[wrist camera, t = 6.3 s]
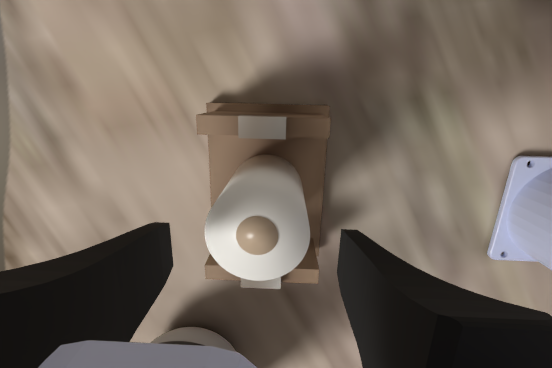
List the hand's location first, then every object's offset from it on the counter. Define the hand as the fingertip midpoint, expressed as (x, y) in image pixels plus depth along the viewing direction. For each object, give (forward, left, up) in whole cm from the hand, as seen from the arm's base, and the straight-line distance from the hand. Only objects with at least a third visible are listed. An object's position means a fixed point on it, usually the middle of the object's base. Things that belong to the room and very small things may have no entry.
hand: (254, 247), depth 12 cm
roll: (0, 0, -9) cm, 9 cm away
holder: (0, 0, -10) cm, 10 cm away
